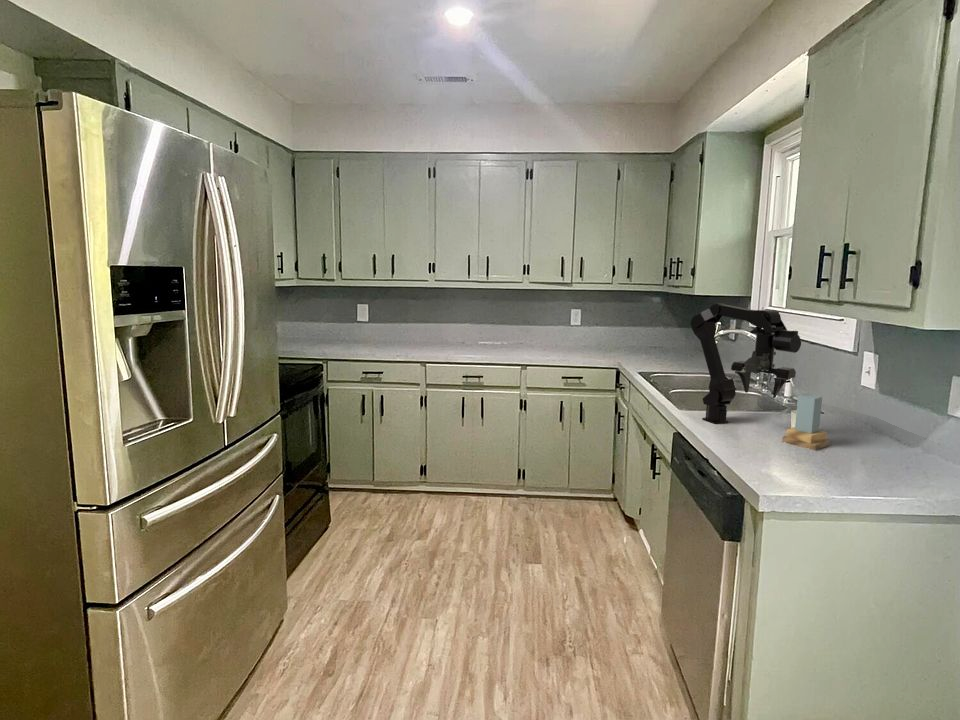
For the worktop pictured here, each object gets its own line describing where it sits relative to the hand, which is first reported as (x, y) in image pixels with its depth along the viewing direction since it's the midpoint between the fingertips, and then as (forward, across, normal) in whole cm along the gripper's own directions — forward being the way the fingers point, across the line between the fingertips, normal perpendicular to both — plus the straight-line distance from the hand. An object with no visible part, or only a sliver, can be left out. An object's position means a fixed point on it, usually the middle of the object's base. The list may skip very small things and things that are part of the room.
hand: (760, 395), depth 189 cm
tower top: (+12, +15, +2) cm, 19 cm away
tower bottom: (+14, +15, +2) cm, 20 cm away
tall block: (+9, +15, +2) cm, 17 cm away
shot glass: (+13, +8, +14) cm, 21 cm away
